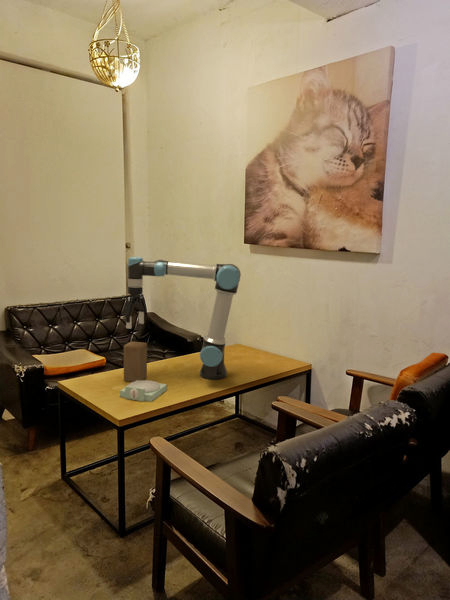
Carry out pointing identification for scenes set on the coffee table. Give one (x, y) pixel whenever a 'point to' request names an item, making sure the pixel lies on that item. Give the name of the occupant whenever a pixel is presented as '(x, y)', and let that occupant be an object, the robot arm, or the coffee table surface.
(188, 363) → the coffee table surface
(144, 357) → the wooden block
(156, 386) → the scale
